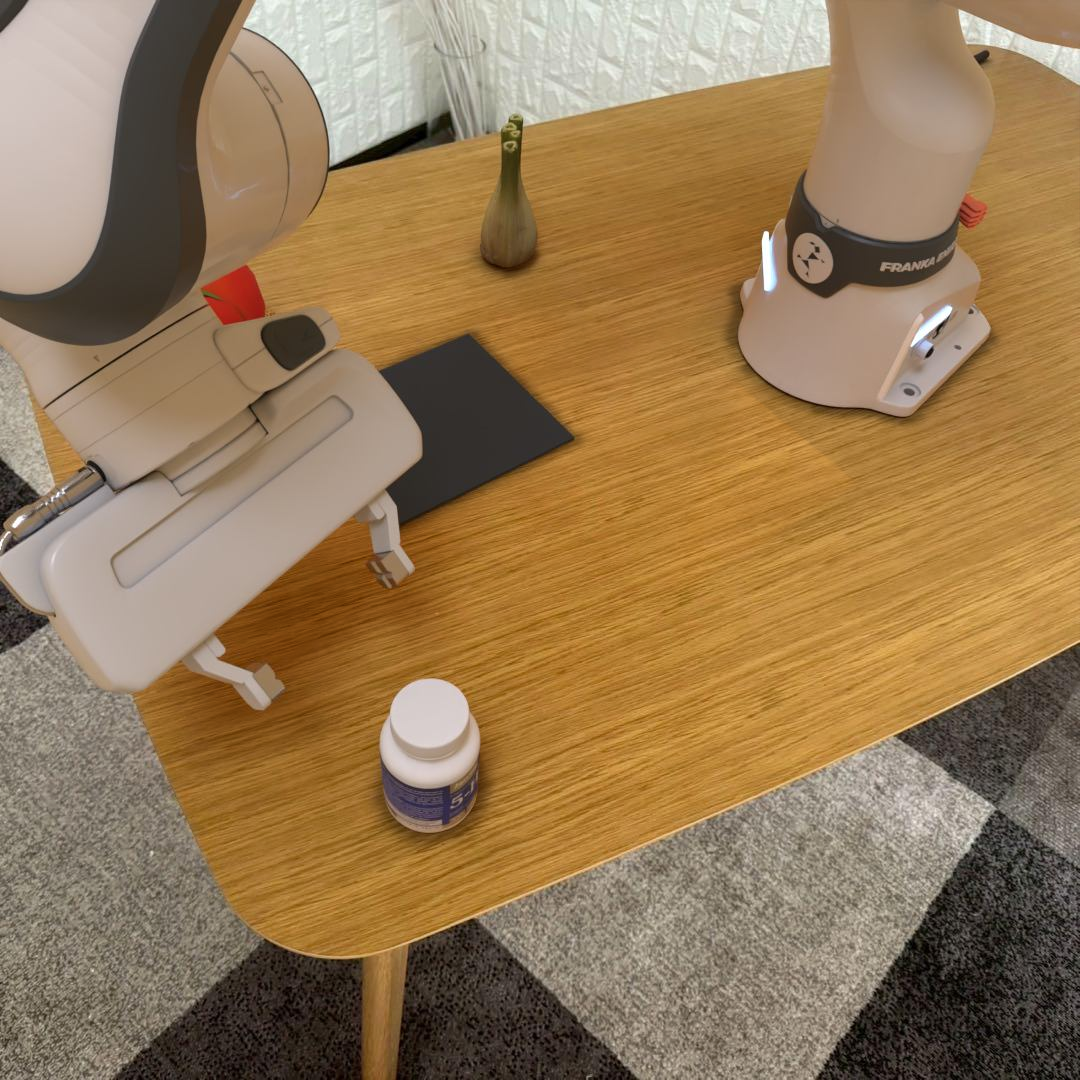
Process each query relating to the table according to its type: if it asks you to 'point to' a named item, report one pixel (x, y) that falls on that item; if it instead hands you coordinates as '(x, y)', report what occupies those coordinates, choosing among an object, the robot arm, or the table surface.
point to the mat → (465, 424)
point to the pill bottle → (430, 756)
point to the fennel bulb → (509, 206)
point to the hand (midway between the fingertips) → (338, 637)
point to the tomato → (235, 297)
